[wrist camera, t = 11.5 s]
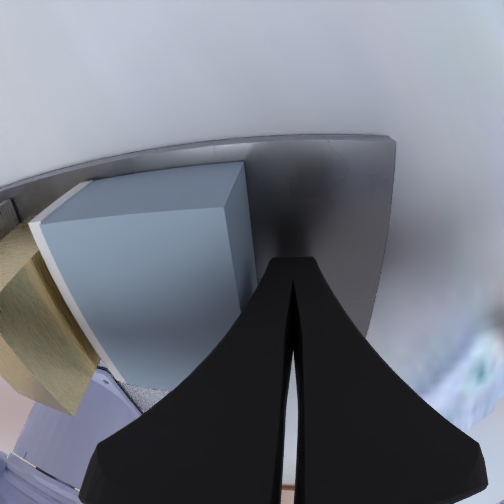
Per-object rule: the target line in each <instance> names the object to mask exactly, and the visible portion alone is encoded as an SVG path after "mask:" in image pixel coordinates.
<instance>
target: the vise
mask: <svg viewBox="0 0 504 504" xmlns="http://www.w3.org/2000/svg"><path fill="white" fill-rule="evenodd" d="M395 156H396V141H394V140H393V139H391V138H390V137H388V136H377V135H348V134H309V135H279V136H261V137H247V138H235V139H224V140H214V141H205V142H197V143H189V144H182V145H175V146H168V147H162V148H155V149H150V150H144V151H138V152H133V153H128V154H123V155H118V156H113V157H108V158H103V159H99V160H95V161H90V162H86V163H82V164H78V165H74V166H70V167H66V168H62V169H59V170H55V171H52V172H48V173H45V174H41V175H38V176H35V177H31V178H28V179H25V180H22V181H19V182H16V183H13V184H10V185H7V186H4V187H1V188H0V241H1V240H2V239H3V238H4V237H5V236H6V235H7V234H9V233H10V232H11V231H12V230H13V229H14V228H16V227H17V226H18V225H19V224H20V223H21V222H23V221H24V220H25V219H26V218H27V217H29V216H35V215H38V214H40V213H41V212H42V211H43V210H44V209H46V208H47V207H48V206H50V205H51V204H52V203H53V202H55V201H56V200H57V199H59V198H60V197H61V196H63V195H64V194H65V193H67V192H68V191H69V190H71V189H72V188H73V187H75V186H76V185H78V184H79V183H81V182H86V181H91V180H93V182H94V181H95V180H100V179H106V178H111V177H117V176H123V175H129V174H135V173H142V172H149V171H156V170H163V169H171V168H179V167H188V166H197V165H207V164H218V163H230V162H243V161H244V167H245V176H246V185H247V194H248V203H249V212H250V221H251V230H252V239H253V248H254V257H255V266H256V275H257V284H258V285H259V283H260V281H261V279H262V277H263V275H264V273H265V270H266V268H267V266H268V263H269V261H270V260H271V259H272V258H273V257H311V256H313V257H314V258H315V259H316V261H317V263H318V266H319V268H320V270H321V272H322V274H323V276H324V278H325V279H326V281H327V283H328V285H329V287H330V288H331V290H332V292H333V293H334V295H335V296H336V298H337V299H338V301H339V303H340V304H341V306H342V307H343V309H344V310H345V312H346V313H347V315H348V316H349V317H350V319H351V320H352V322H353V323H354V324H355V326H356V327H357V328H358V330H359V331H360V332H361V334H362V335H363V336H364V338H365V337H366V335H367V331H368V327H369V323H370V319H371V315H372V311H373V307H374V302H375V298H376V293H377V288H378V284H379V279H380V274H381V268H382V263H383V257H384V251H385V245H386V239H387V232H388V225H389V218H390V210H391V202H392V192H393V182H394V171H395Z"/></svg>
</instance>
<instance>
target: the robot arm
mask: <svg viewBox="0 0 504 504" xmlns="http://www.w3.org/2000/svg"><path fill="white" fill-rule="evenodd" d="M293 351H294V362H295V373H296V385H297V397H298V437H297V460H296V478H295V494H294V495H295V496H294V504H453V503H456V502H458V501H461V500H463V499H466V498H468V497H470V496H472V495H474V494H477V493H479V492H481V491H483V490H484V489H486V487H487V485H488V479H487V473H486V467H485V461H484V457H483V454H482V452H481V448H480V445H479V443H478V442H476V441H475V440H473V439H472V438H471V437H469V436H468V435H466V434H465V433H464V432H462V431H461V430H460V429H458V428H457V427H456V426H454V425H453V424H452V423H450V422H449V421H448V420H446V419H445V418H444V417H443V416H441V415H440V414H439V413H438V412H437V411H436V410H434V409H433V408H432V407H431V406H430V405H429V404H427V403H426V402H425V401H424V400H423V399H422V398H421V397H420V396H419V395H418V394H417V393H416V392H415V391H414V390H413V389H411V388H410V387H409V386H408V385H407V384H406V383H405V382H404V381H403V380H402V379H401V378H400V377H399V376H398V375H397V374H396V373H395V372H394V371H393V370H392V369H391V368H390V367H389V365H388V364H387V363H386V362H385V361H384V360H383V359H382V358H381V357H380V356H379V354H378V353H377V352H376V351H375V350H374V349H373V347H372V346H371V345H370V344H369V343H368V341H367V340H366V339H365V338H364V336H363V335H362V334H361V332H360V331H359V330H358V328H357V327H356V326H355V324H354V323H353V322H352V320H351V319H350V317H349V316H348V315H347V313H346V312H345V310H344V309H343V307H342V306H341V304H340V303H339V301H338V299H337V298H336V296H335V295H334V293H333V292H332V290H331V288H330V287H329V285H328V283H327V281H326V279H325V278H324V276H323V274H322V272H321V270H320V268H319V266H318V263H317V261H316V259H315V258H314V257H313V256H311V257H273V258H272V259H271V260H270V261H269V263H268V266H267V268H266V270H265V273H264V275H263V277H262V279H261V281H260V283H259V285H258V286H257V288H256V290H255V292H254V293H253V295H252V297H251V298H250V300H249V302H248V303H247V305H246V307H245V308H244V310H243V311H242V312H241V314H240V315H239V317H238V318H237V320H236V321H235V322H234V324H233V325H232V327H231V328H230V329H229V331H228V332H227V333H226V335H225V336H224V337H223V338H222V340H221V341H220V342H219V343H218V344H217V346H216V347H215V348H214V349H213V350H212V351H211V353H210V354H209V355H208V356H207V357H206V358H205V359H204V360H203V361H202V362H201V363H200V364H199V365H198V366H197V367H196V368H195V369H194V370H193V371H192V373H191V374H190V375H189V376H188V377H186V378H185V379H184V380H183V381H182V382H181V383H180V384H179V385H178V386H177V387H176V388H175V389H173V390H172V391H171V392H170V393H168V394H167V395H166V396H165V397H164V398H162V399H161V400H160V401H159V402H158V403H156V404H155V405H154V406H153V407H151V408H150V409H149V410H148V411H146V412H145V413H144V414H141V413H140V412H139V410H138V409H137V408H136V407H135V406H134V404H133V403H132V402H131V401H130V400H129V398H128V397H127V396H126V395H125V393H124V392H123V391H122V390H121V388H120V387H119V386H118V385H117V383H116V382H115V381H114V379H113V378H112V377H111V375H110V374H109V373H108V372H106V371H104V370H101V369H96V370H95V372H94V374H93V376H92V378H91V380H90V383H89V385H88V387H87V389H86V391H85V393H84V396H83V398H82V400H81V402H80V404H79V407H78V409H77V411H76V413H75V416H74V417H73V416H71V415H68V414H65V413H63V412H60V411H58V410H55V409H53V408H50V407H48V406H46V405H43V404H41V403H39V402H36V401H35V403H34V406H33V407H32V410H31V412H30V414H29V416H28V418H27V420H26V422H25V424H24V427H23V429H22V431H21V433H20V436H19V438H18V440H17V442H16V445H15V447H14V450H13V452H14V453H16V454H17V455H19V456H20V457H22V458H23V459H25V460H27V461H28V462H30V463H31V464H33V465H35V466H36V468H34V467H33V466H31V465H29V464H28V463H26V462H24V461H23V460H21V459H20V458H18V457H17V456H15V455H13V454H12V453H10V454H9V457H8V459H7V454H5V453H4V452H2V451H0V504H281V503H280V502H281V489H282V474H283V457H284V438H285V417H286V404H287V396H288V388H289V380H290V372H291V364H292V355H293ZM75 488H77V489H80V492H79V491H77V490H75ZM497 504H504V500H503V501H501V502H499V503H497Z"/></svg>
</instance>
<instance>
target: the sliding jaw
mask: <svg viewBox="0 0 504 504" xmlns="http://www.w3.org/2000/svg"><path fill="white" fill-rule="evenodd" d="M28 224H29V227H30V229H31V232H32V234H33V237H34V239H35V241H36V244H37V246H38V248H39V250H40V253H41V255H42V257H43V259H44V261H45V263H46V265H47V267H48V269H49V272H50V274H51V276H52V278H53V279H54V281H55V283H56V285H57V287H58V289H59V291H60V293H61V295H62V296H63V298H64V300H65V302H66V304H67V305H68V307H69V309H70V311H71V312H72V314H73V316H74V318H75V319H76V321H77V323H78V324H79V326H80V327H81V329H82V331H83V332H84V334H85V335H86V337H87V339H88V340H89V342H90V343H91V345H92V346H93V348H94V349H95V351H96V352H97V354H98V355H99V357H100V358H101V359H102V361H103V362H104V364H105V365H106V367H107V368H108V369H109V371H110V372H111V373H112V375H113V376H114V378H115V379H116V380H117V381H121V382H126V383H127V384H128V385H133V386H139V387H145V388H151V389H157V390H164V391H172V390H173V389H175V388H176V387H177V386H178V385H179V384H180V383H181V382H182V381H183V380H184V379H185V378H186V377H188V376H189V375H190V374H191V373H192V371H193V370H194V369H195V368H196V367H197V366H198V365H199V364H200V363H201V362H202V361H203V360H204V359H205V358H206V357H207V356H208V355H209V354H210V353H211V351H212V350H213V349H214V348H215V347H216V346H217V344H218V343H219V342H220V341H221V340H222V338H223V337H224V336H225V335H226V333H227V332H228V331H229V329H230V328H231V327H232V325H233V324H234V322H235V321H236V320H237V318H238V317H239V315H240V314H241V312H242V311H243V310H244V308H245V307H246V305H247V303H248V302H249V300H250V298H251V297H252V295H253V293H254V292H255V290H256V288H257V286H258V284H257V275H256V266H255V257H254V248H253V239H252V230H251V221H250V212H249V203H248V194H247V185H246V176H245V167H244V161H243V162H230V163H218V164H207V165H197V166H188V167H179V168H171V169H163V170H156V171H149V172H142V173H135V174H129V175H123V176H117V177H111V178H106V179H100V180H95V181H94V182H93V180H91V181H86V182H81V183H79V184H78V185H76V186H75V187H73V188H72V189H71V190H69V191H68V192H67V193H65V194H64V195H63V196H61V197H60V198H59V199H57V200H56V201H55V202H53V203H52V204H51V205H50V206H48V207H47V208H46V209H44V210H43V211H42V212H41V213H40V214H38V215H37V216H36V217H35V218H33V219H32V220H31V221H30V222H29V223H28Z"/></svg>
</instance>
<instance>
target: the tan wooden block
mask: <svg viewBox="0 0 504 504" xmlns="http://www.w3.org/2000/svg"><path fill="white" fill-rule="evenodd" d="M36 216H37V215H35V216H29V217H27V218H26V219H25V220H24V221H23V222H21V223H20V224H19V225H18V226H17V227H16V228H14V229H13V230H12V231H11V232H10V233H9V234H7V235H6V236H5V237H4V238H3V239H2V240H1V241H0V375H1V376H2V377H3V378H4V379H5V380H6V381H7V382H8V383H9V384H10V385H11V387H12V388H13V389H14V390H15V391H16V392H18V393H19V394H22V395H24V396H26V397H28V398H30V399H32V400H34V401H36V402H39V403H41V404H43V405H46V406H48V407H50V408H53V409H55V410H58V411H60V412H63V413H65V414H68V415H71V416H73V417H74V416H75V413H76V411H77V409H78V407H79V404H80V402H81V400H82V398H83V396H84V393H85V391H86V389H87V387H88V385H89V383H90V380H91V378H92V376H93V374H94V372H95V370H96V368H97V366H98V364H99V362H100V360H101V358H100V357H99V355H98V354H97V352H96V351H95V349H94V348H93V346H92V345H91V343H90V342H89V340H88V339H87V337H86V335H85V334H84V332H83V331H82V329H81V327H80V326H79V324H78V323H77V321H76V319H75V318H74V316H73V314H72V312H71V311H70V309H69V307H68V305H67V304H66V302H65V300H64V298H63V296H62V295H61V293H60V291H59V289H58V287H57V285H56V283H55V281H54V279H53V278H52V276H51V274H50V272H49V269H48V267H47V265H46V263H45V261H44V259H43V257H42V255H41V253H40V250H39V248H38V246H37V244H36V241H35V239H34V237H33V234H32V232H31V229H30V227H29V224H28V223H29V222H30V221H31V220H32V219H33V218H35V217H36Z"/></svg>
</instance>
